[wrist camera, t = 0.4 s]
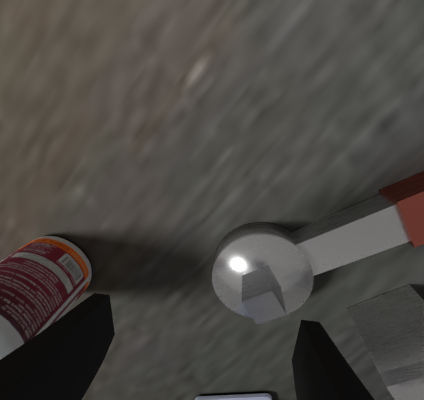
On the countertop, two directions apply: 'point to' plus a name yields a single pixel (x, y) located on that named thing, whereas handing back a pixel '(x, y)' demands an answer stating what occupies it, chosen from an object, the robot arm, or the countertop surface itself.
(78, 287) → the pill bottle
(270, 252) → the ratchet
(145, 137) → the countertop surface
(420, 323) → the grey block
